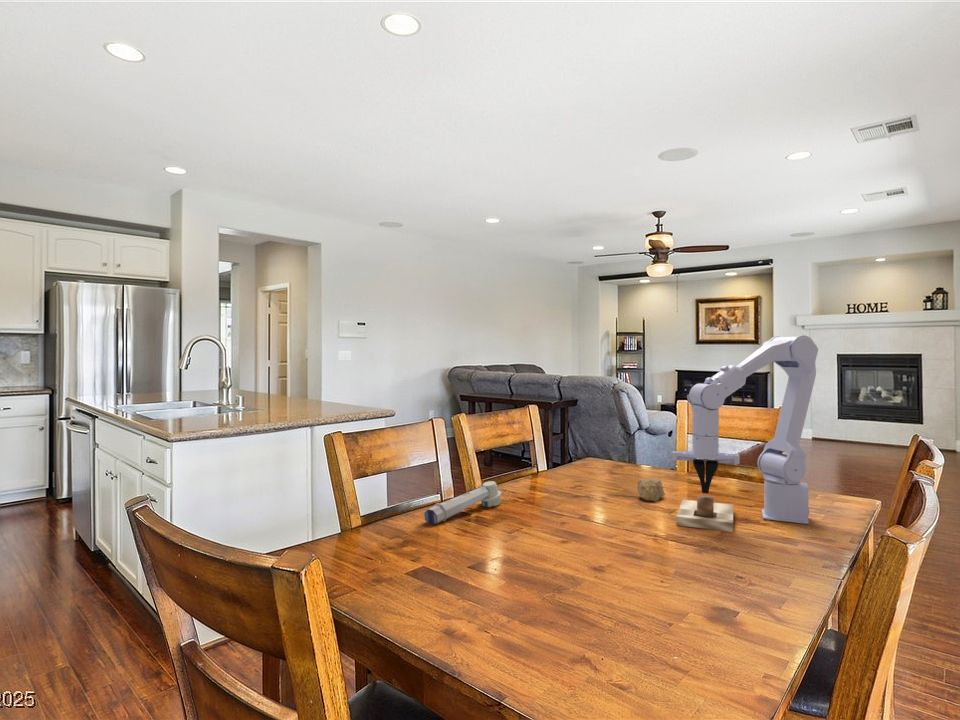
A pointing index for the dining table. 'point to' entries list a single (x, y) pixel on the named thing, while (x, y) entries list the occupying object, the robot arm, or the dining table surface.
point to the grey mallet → (464, 503)
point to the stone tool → (650, 489)
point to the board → (718, 522)
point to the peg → (705, 506)
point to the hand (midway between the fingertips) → (705, 492)
